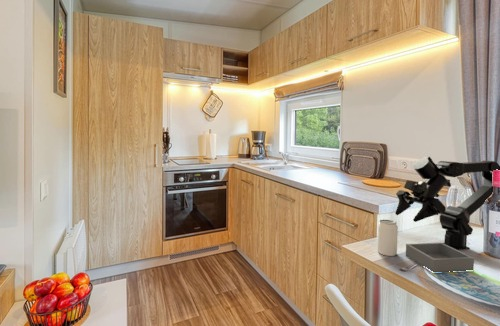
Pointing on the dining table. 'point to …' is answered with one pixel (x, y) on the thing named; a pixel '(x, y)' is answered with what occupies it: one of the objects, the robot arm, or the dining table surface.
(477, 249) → the dining table surface
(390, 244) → the can
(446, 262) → the tote
